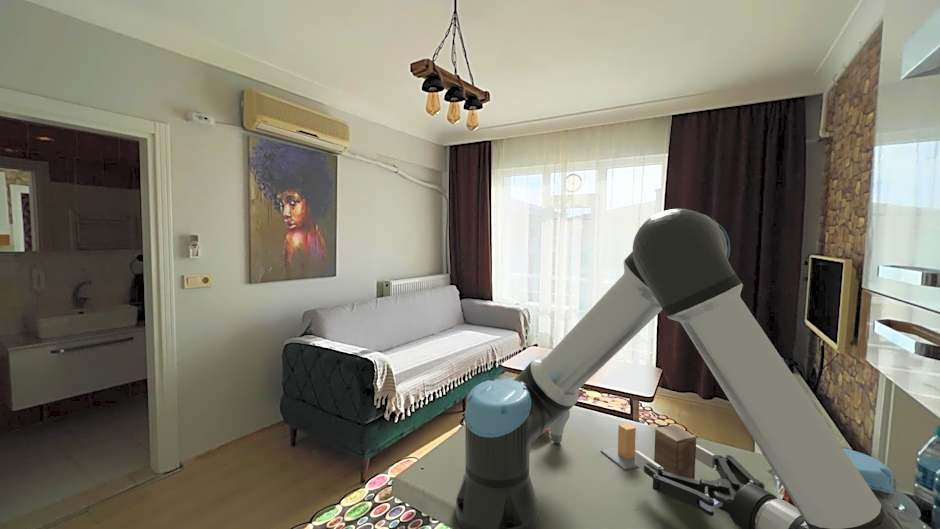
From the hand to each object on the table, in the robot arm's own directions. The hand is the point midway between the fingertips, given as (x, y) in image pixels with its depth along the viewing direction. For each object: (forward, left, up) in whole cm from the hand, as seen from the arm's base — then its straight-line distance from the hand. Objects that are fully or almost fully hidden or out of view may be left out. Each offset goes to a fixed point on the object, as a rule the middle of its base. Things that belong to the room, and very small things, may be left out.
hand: (661, 451), depth 81 cm
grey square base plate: (-7, +5, -6) cm, 11 cm away
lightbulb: (-23, +3, -6) cm, 24 cm away
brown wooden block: (+3, -2, -6) cm, 7 cm away
